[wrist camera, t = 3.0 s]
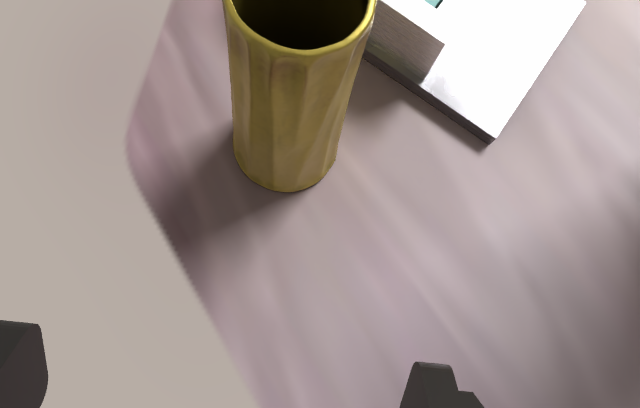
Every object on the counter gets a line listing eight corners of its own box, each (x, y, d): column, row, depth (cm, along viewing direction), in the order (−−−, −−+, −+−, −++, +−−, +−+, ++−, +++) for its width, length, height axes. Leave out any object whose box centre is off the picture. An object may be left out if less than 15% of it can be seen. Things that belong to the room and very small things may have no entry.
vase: (325, 204, 31) (374, 88, 17) (220, 179, 30) (183, 43, 17) (345, 109, 32) (405, -67, 18) (246, 85, 32) (232, -110, 18)
